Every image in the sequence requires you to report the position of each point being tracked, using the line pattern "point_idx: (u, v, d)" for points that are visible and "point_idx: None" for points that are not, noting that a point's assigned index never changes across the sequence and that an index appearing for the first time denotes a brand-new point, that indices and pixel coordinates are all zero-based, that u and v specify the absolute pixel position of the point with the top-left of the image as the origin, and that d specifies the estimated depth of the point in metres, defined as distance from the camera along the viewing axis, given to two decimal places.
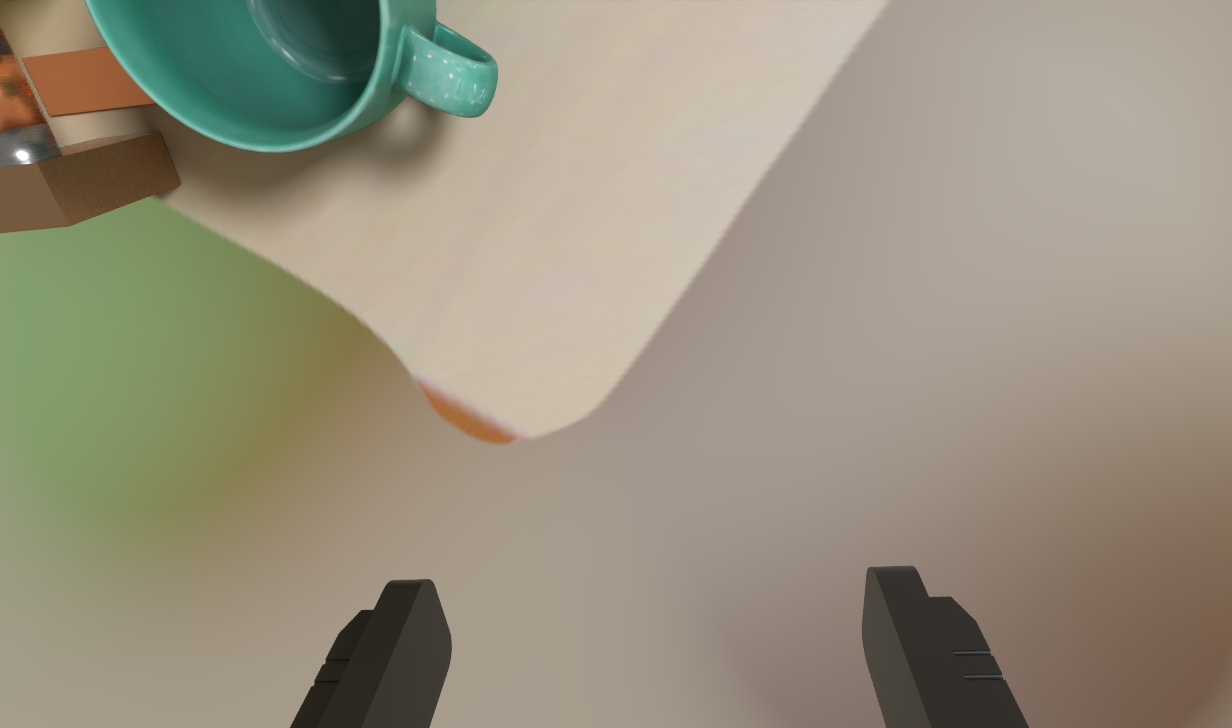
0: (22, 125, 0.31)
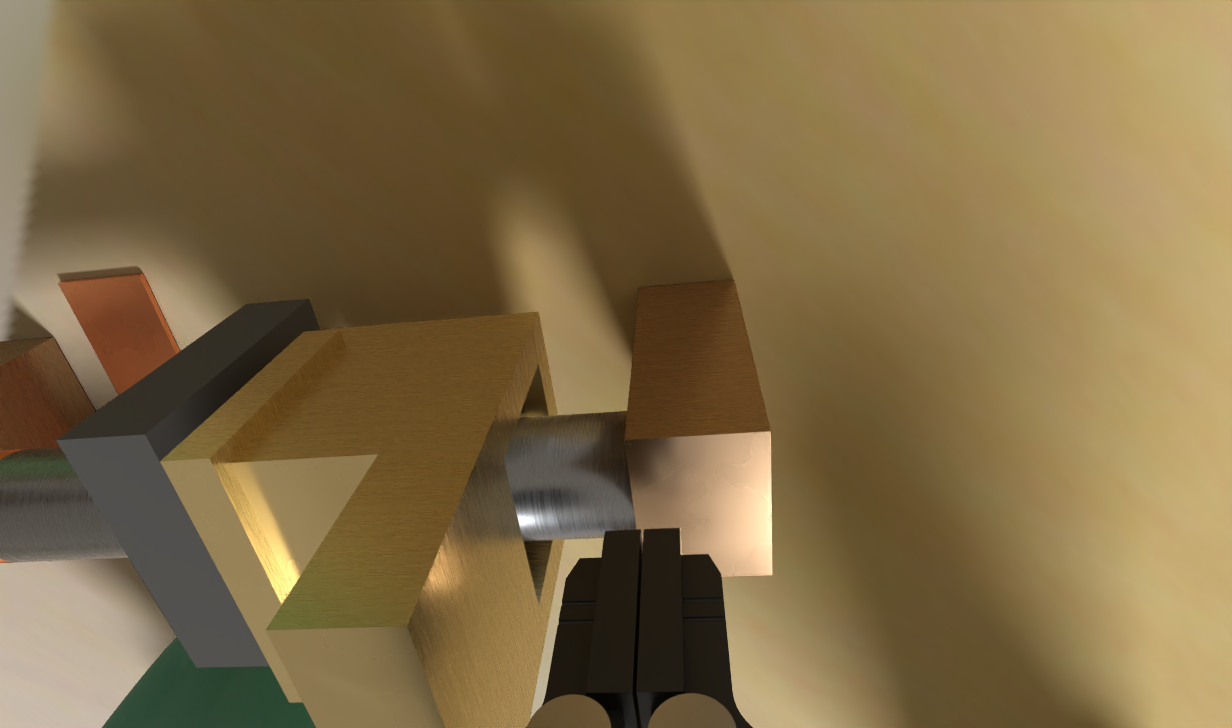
0: None
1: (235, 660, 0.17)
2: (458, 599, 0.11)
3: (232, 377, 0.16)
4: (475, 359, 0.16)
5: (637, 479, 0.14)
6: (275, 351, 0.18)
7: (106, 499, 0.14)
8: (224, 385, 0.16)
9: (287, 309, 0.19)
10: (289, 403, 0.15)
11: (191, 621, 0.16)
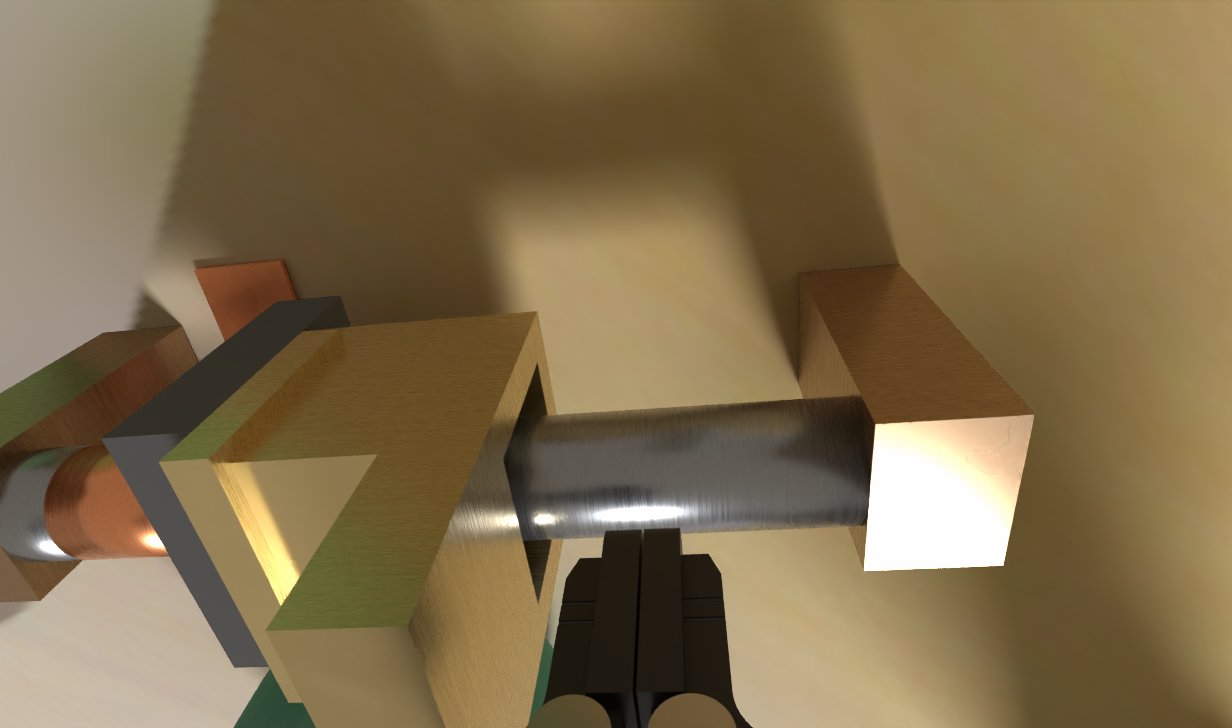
0: None
1: None
2: (458, 599, 0.11)
3: None
4: (474, 359, 0.16)
5: (879, 465, 0.14)
6: None
7: (149, 498, 0.14)
8: None
9: (319, 306, 0.19)
10: (287, 403, 0.15)
11: (231, 620, 0.16)
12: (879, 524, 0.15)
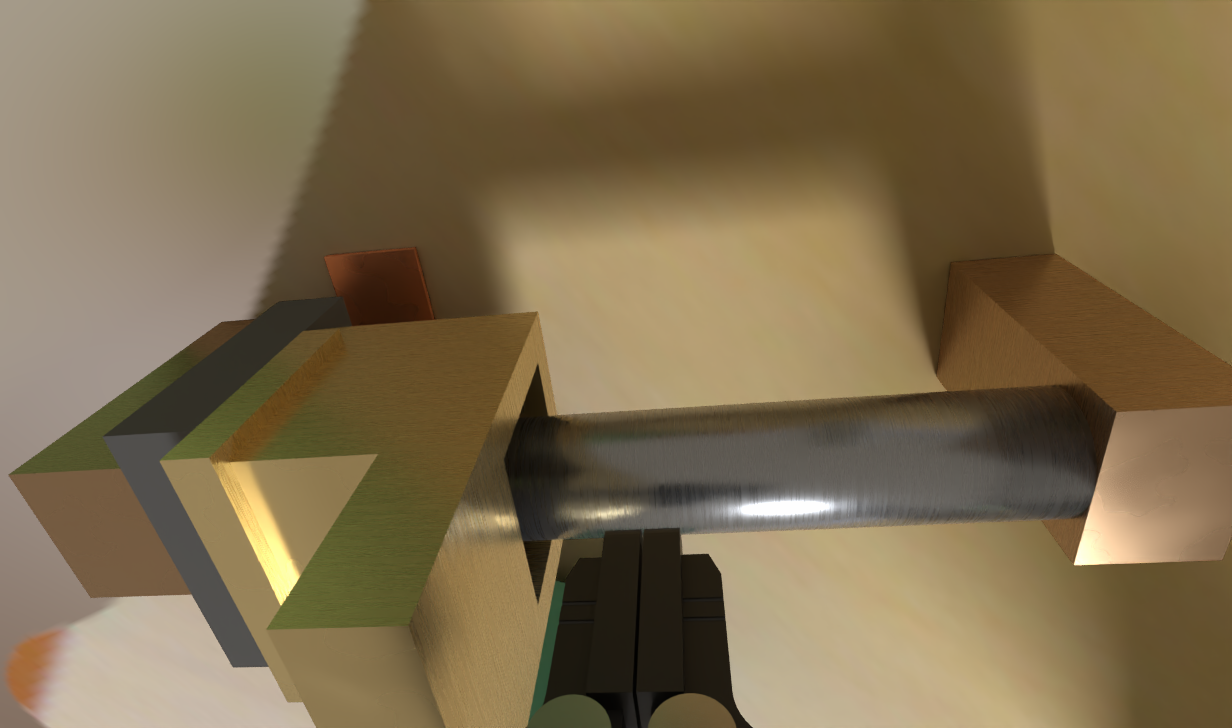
0: None
1: None
2: (458, 599, 0.11)
3: None
4: (475, 359, 0.16)
5: (1111, 455, 0.13)
6: None
7: (150, 497, 0.14)
8: None
9: (321, 306, 0.19)
10: (288, 402, 0.15)
11: (230, 620, 0.16)
12: (1099, 517, 0.14)
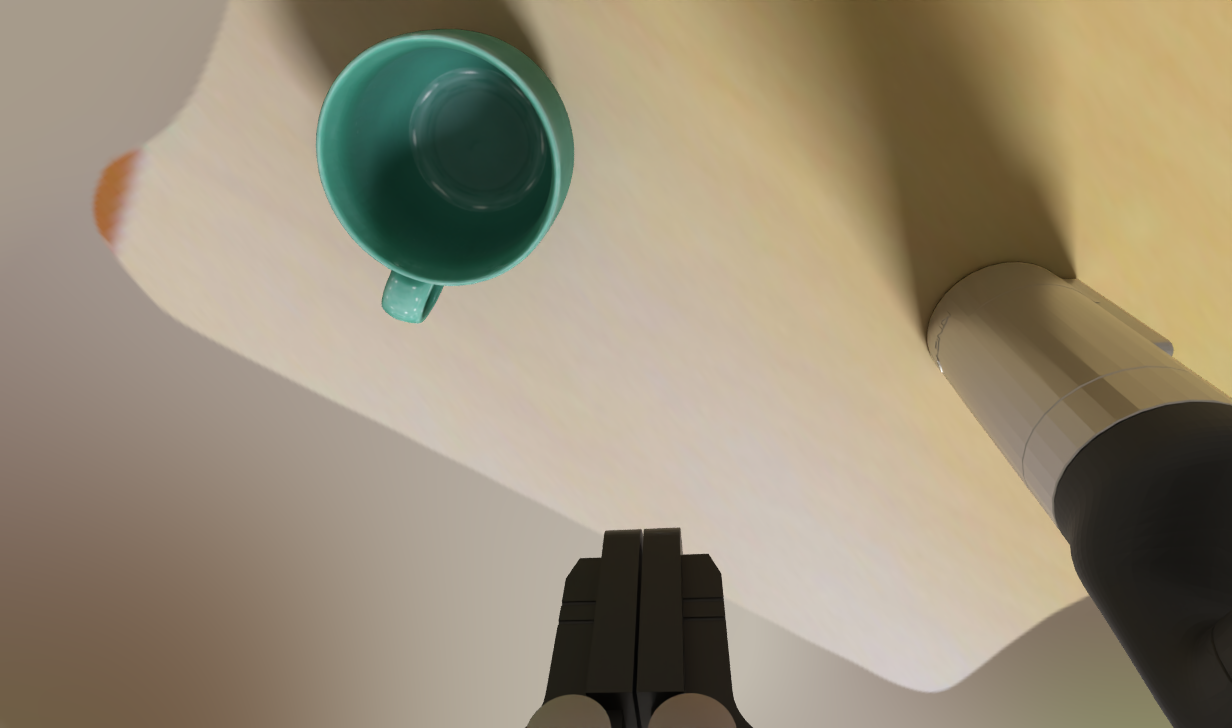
0: None
1: None
2: None
3: None
4: None
5: None
6: None
7: None
8: None
9: None
10: None
11: None
12: None
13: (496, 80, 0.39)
